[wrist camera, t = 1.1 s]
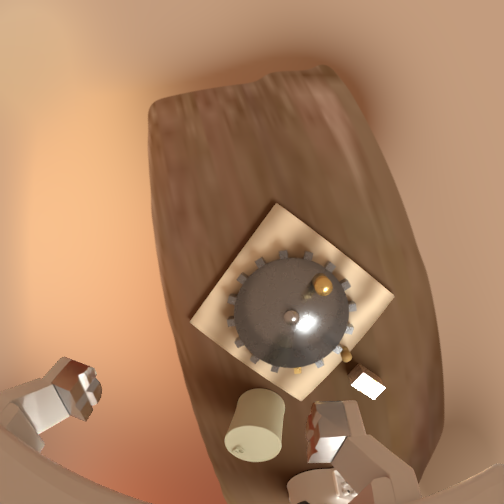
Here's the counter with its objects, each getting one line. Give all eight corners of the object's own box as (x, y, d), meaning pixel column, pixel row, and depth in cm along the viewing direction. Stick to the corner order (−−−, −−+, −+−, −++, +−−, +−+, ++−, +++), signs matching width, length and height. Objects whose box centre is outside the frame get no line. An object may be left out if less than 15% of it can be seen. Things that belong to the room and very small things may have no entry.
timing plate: (392, 294, 42) (401, 300, 38) (301, 398, 45) (301, 410, 41) (276, 203, 44) (275, 200, 40) (191, 320, 47) (183, 327, 43)
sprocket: (377, 299, 41) (391, 310, 34) (299, 388, 44) (300, 410, 37) (279, 223, 42) (276, 220, 36) (206, 321, 45) (192, 335, 38)
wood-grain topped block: (379, 377, 43) (385, 387, 39) (369, 388, 43) (373, 399, 39) (358, 362, 43) (363, 372, 39) (347, 374, 44) (351, 385, 40)
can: (227, 401, 47) (211, 439, 35) (265, 380, 46) (256, 418, 34) (257, 430, 47) (248, 469, 35) (294, 411, 45) (293, 452, 34)
